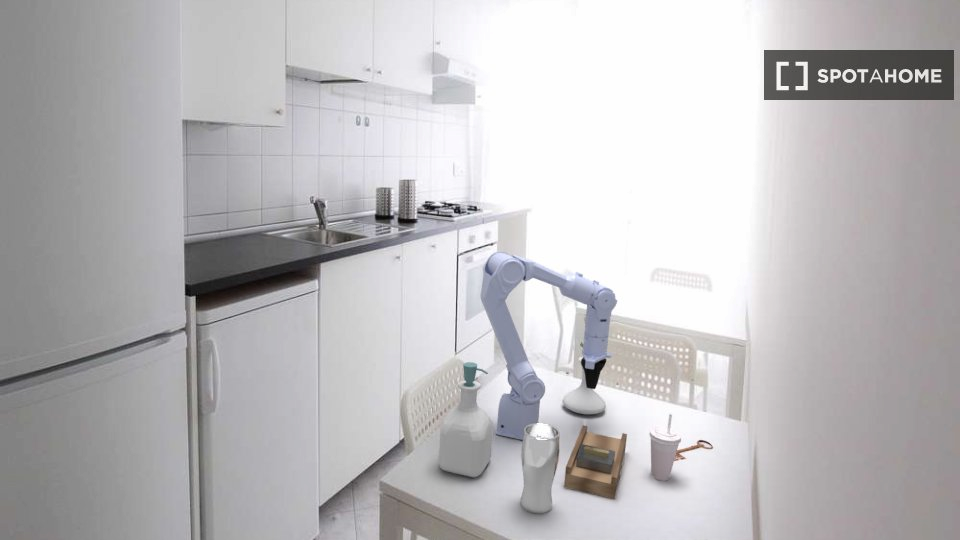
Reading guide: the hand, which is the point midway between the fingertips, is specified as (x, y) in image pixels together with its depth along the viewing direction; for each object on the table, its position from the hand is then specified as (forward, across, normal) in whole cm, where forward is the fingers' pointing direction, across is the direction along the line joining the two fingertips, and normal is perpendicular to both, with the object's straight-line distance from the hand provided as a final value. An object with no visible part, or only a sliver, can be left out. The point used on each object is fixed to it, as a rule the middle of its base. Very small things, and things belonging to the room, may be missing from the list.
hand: (591, 387), depth 139 cm
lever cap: (+7, -22, -5) cm, 24 cm away
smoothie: (+11, -16, -18) cm, 26 cm away
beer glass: (+11, -37, +4) cm, 39 cm away
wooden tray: (+10, -19, -5) cm, 22 cm away
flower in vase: (+11, +11, +3) cm, 16 cm away
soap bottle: (+11, -30, +21) cm, 38 cm away
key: (+11, -2, -24) cm, 26 cm away
